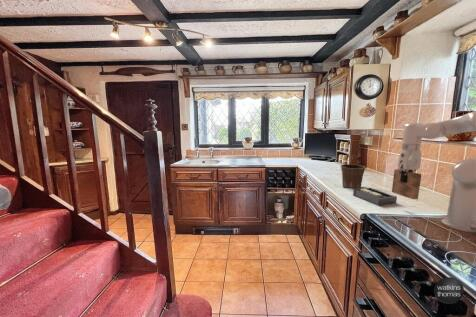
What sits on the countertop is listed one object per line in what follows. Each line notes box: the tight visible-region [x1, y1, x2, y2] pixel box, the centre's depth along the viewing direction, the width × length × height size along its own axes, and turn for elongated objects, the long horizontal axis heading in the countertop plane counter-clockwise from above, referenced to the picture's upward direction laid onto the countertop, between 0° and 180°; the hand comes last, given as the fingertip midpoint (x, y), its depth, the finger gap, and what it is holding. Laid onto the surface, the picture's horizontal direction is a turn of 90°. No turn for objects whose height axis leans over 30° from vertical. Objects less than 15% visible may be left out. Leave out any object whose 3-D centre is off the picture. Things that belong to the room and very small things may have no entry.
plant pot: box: [340, 163, 366, 190], centre depth 163 cm, size 16×16×16 cm
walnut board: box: [391, 168, 422, 200], centre depth 118 cm, size 12×3×13 cm, turn 16°
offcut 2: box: [369, 192, 382, 198], centre depth 133 cm, size 6×4×5 cm, turn 16°
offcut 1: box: [359, 188, 372, 194], centre depth 139 cm, size 6×4×5 cm, turn 15°
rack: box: [352, 187, 398, 207], centre depth 136 cm, size 18×14×5 cm
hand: (406, 181), depth 117 cm, fingers closed on walnut board, 3 cm apart
